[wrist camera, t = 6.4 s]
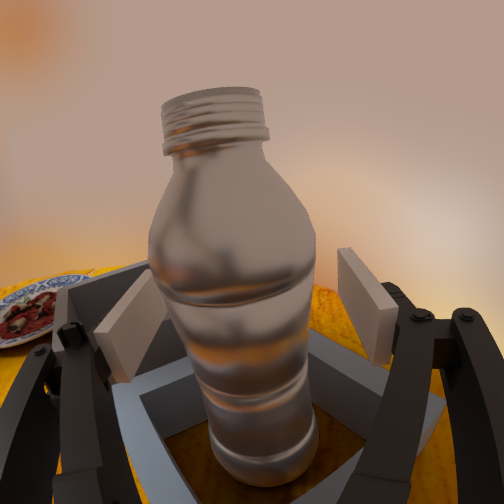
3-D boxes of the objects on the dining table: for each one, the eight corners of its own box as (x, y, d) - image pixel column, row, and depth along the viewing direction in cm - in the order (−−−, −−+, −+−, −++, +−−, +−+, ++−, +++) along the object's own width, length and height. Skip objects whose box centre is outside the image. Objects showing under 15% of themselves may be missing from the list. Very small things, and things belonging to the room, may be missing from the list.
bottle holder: (132, 430, 18) (106, 387, 17) (286, 358, 26) (282, 312, 24) (230, 593, 6) (205, 590, 5) (424, 447, 13) (447, 400, 12)
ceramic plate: (125, 310, 39) (118, 291, 38) (-24, 382, 21) (-35, 363, 20) (79, 274, 56) (75, 261, 55) (-18, 318, 38) (-24, 304, 37)
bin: (77, 338, 32) (57, 289, 29) (185, 299, 39) (174, 251, 37) (90, 423, 19) (51, 360, 16) (248, 357, 26) (237, 292, 24)
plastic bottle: (245, 512, 12) (120, 83, 5) (205, 439, 18) (119, 128, 11) (338, 466, 14) (345, 78, 8) (284, 407, 20) (251, 110, 14)
